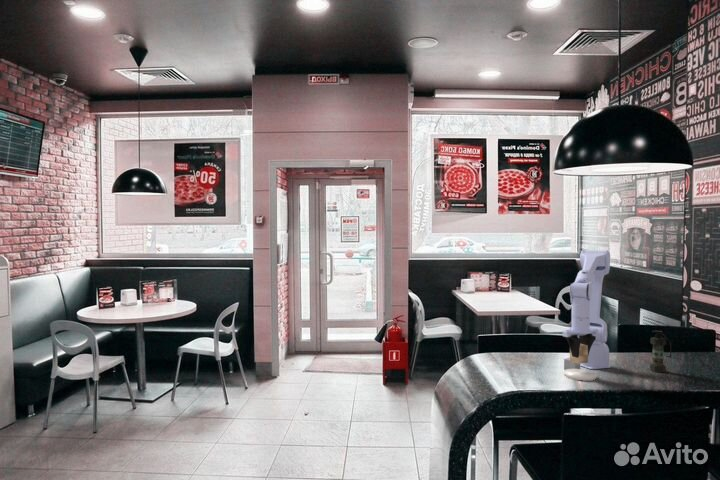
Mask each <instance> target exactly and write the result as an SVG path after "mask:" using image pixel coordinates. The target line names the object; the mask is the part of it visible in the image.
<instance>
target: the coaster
mask: <svg viewBox="0 0 720 480" xmlns="http://www.w3.org/2000/svg"><path fill="white" fill-rule="evenodd" d="M563 374H564V377H565V376H566V378H567V377H568V379H569V380H574V381H579V380H583V381H582V382H593V380H594V381H596V380H597V373H596V372H594V371H591V370H588V369H581V368H580V369H566V370H564V373H563ZM595 379H596V380H595Z"/></svg>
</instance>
